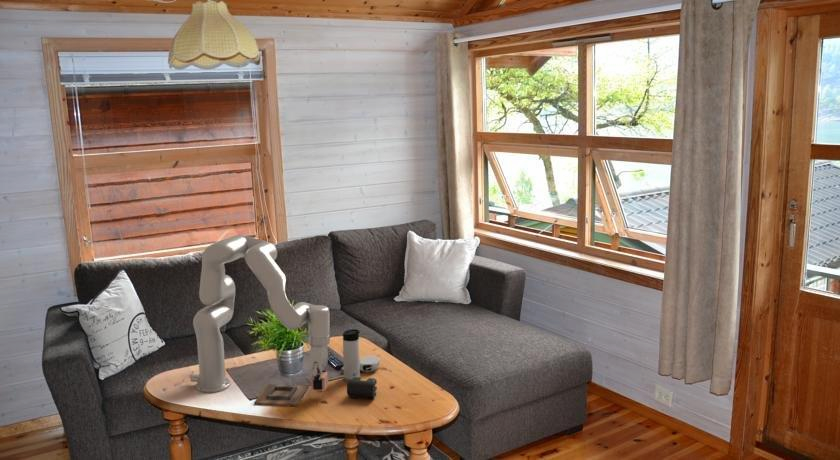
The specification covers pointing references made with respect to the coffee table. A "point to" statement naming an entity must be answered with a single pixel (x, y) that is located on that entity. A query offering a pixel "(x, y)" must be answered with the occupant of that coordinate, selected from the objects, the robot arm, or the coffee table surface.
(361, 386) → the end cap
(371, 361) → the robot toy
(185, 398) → the coffee table surface
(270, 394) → the holder board
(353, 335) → the travel mug
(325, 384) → the terracotta cube
